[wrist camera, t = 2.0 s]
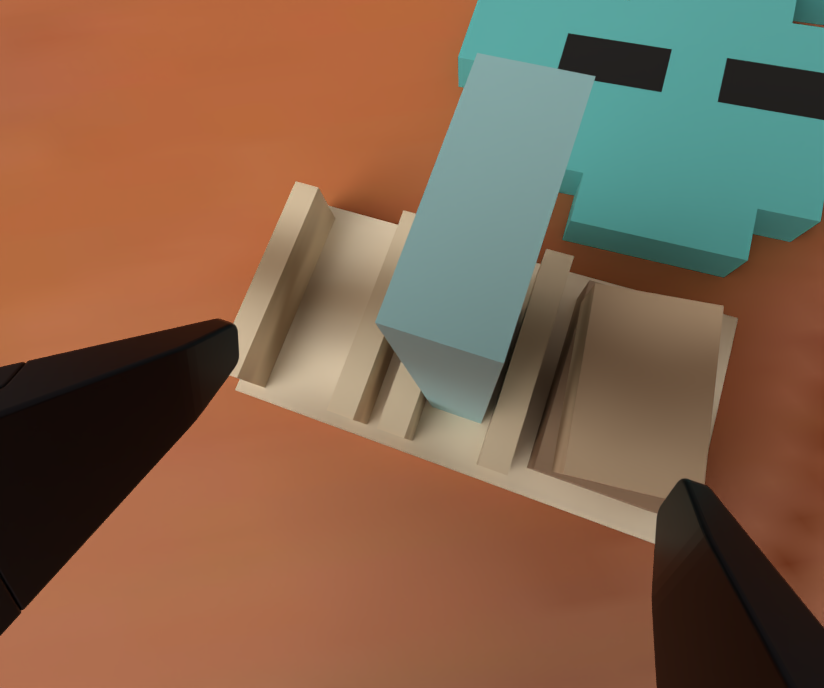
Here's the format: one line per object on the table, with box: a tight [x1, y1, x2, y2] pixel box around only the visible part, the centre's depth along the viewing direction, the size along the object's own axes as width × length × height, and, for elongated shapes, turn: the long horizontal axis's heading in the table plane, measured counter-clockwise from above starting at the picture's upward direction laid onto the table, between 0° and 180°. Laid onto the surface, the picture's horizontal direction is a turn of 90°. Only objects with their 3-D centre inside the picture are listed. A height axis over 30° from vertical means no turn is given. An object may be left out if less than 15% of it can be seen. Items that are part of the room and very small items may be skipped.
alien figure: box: [458, 0, 824, 277], centre depth 22 cm, size 20×2×20 cm
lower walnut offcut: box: [527, 280, 665, 513], centre depth 17 cm, size 7×4×2 cm, turn 160°
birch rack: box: [230, 182, 738, 544], centre depth 18 cm, size 9×18×4 cm, turn 71°
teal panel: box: [375, 53, 596, 424], centre depth 13 cm, size 5×2×12 cm, turn 161°
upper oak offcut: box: [552, 283, 724, 499], centre depth 15 cm, size 6×4×2 cm, turn 167°
